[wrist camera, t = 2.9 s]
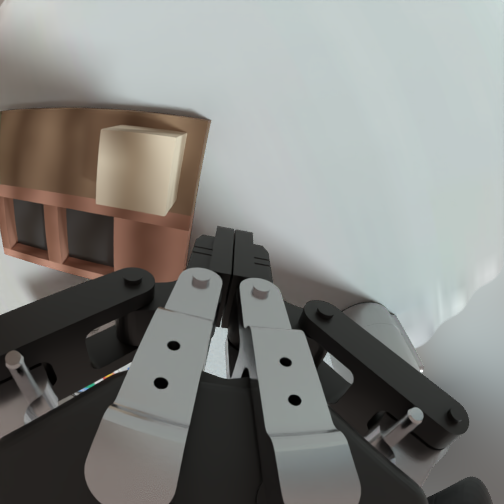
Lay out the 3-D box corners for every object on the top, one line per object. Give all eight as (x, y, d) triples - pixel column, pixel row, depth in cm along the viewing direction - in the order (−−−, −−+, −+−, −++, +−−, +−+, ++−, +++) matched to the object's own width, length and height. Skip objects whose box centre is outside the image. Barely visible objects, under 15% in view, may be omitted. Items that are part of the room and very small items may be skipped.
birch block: (187, 132, 22) (176, 137, 18) (176, 200, 25) (164, 216, 21) (121, 124, 21) (100, 129, 18) (115, 189, 24) (95, 203, 20)
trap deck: (211, 120, 23) (202, 122, 19) (183, 288, 31) (174, 318, 27) (7, 110, 20) (-22, 116, 16) (13, 246, 28) (-9, 265, 24)
